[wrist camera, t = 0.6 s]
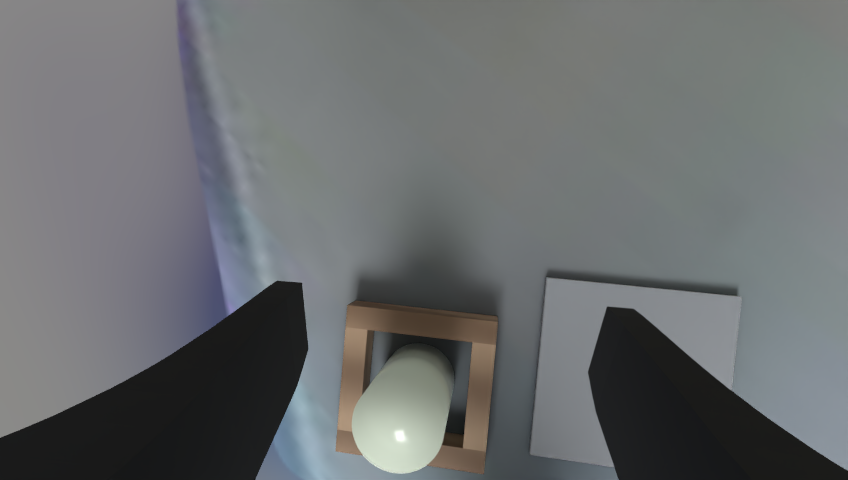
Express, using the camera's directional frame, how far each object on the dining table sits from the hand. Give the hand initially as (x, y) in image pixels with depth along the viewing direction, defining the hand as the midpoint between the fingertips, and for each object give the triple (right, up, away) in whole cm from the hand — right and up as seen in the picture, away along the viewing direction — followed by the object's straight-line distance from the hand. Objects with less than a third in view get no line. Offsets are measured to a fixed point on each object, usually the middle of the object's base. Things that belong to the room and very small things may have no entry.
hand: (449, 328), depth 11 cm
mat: (+13, -7, +19) cm, 24 cm away
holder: (-1, -8, +21) cm, 23 cm away
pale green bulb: (-1, -8, +21) cm, 23 cm away
